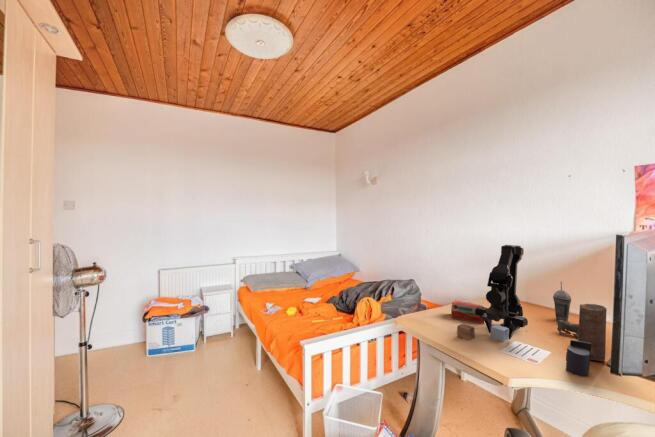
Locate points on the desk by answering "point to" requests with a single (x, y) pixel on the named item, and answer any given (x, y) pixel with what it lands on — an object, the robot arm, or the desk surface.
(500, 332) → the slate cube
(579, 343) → the speaker
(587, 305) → the candle
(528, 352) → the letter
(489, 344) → the desk surface
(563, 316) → the beverage cup
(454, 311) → the medicine box
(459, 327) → the walnut block
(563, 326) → the dog figurine
